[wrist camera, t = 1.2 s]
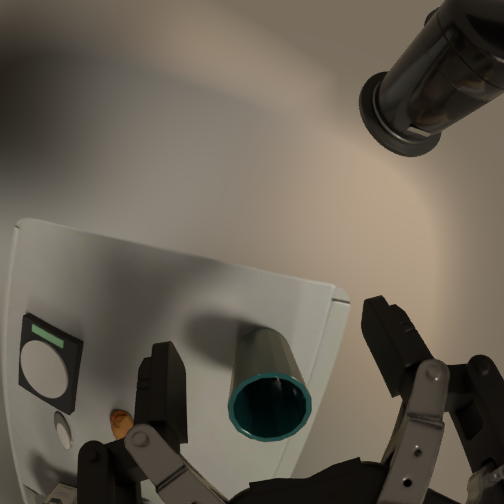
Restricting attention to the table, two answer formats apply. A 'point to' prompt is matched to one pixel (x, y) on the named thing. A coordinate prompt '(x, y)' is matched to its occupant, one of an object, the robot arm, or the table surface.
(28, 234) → the table surface
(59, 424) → the grey flat oval piece
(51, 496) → the ink box
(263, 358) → the cup
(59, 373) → the scale
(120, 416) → the brown flat oblong piece
